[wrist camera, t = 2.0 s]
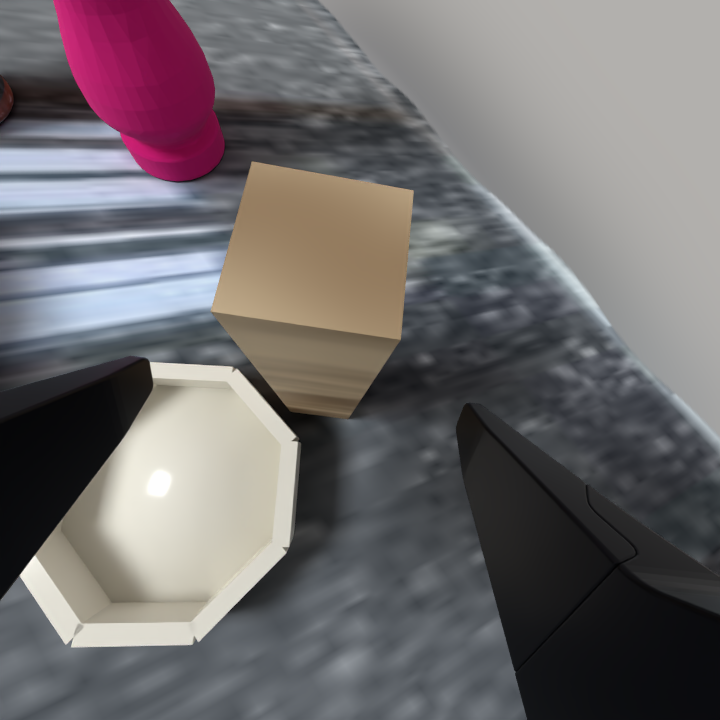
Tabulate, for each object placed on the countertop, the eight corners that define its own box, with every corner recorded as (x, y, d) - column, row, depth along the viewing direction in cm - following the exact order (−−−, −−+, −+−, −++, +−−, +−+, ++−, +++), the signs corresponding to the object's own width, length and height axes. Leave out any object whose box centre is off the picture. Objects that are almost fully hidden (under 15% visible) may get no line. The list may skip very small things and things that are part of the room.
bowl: (342, 488, 18) (345, 493, 16) (150, 680, 15) (118, 722, 13) (209, 335, 20) (194, 319, 17) (11, 480, 17) (-42, 485, 14)
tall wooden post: (348, 419, 19) (400, 339, 6) (290, 411, 19) (210, 311, 6) (355, 364, 20) (413, 190, 7) (300, 356, 20) (252, 161, 7)
